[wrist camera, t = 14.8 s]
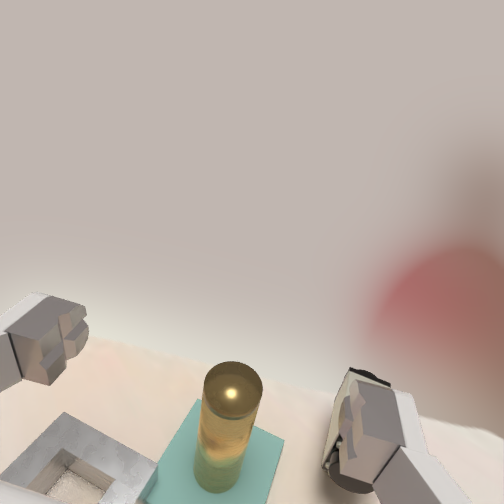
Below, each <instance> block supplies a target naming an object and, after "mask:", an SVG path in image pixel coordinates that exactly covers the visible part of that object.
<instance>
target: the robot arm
mask: <svg viewBox="0 0 504 504" xmlns="http://www.w3.org/2000/svg"><path fill="white" fill-rule="evenodd" d="M86 315H87V314H86V309H85V306H83V305H80V304H77V303H74V302H70V301H67V300H64V299H60V298H57V297H54V296H49V295H46V294H43V293H39V292H34V293H31V294H29V295H28V296H26V297H25V298H24V299H22V300H21V301H20V302H18V303H17V304H15V305H14V306H13V307H11V308H10V309H9V310H7V311H6V312H4V313H3V314H2V315H0V392H2V391H3V390H5V389H7V388H9V387H11V386H13V385H14V384H16V383H18V382H20V381H22V379H25V380H29V381H33V382H37V383H40V384H44V385H48V386H50V385H51V384H52V383H53V382H54V381H55V380H56V379H57V378H58V376H59V375H60V374H61V373H62V372H63V371H64V370H65V369H66V365H67V360H69V359H71V358H73V357H75V356H77V355H78V354H79V353H80V351H81V350H82V349H83V348H84V346H85V343H86V341H87V339H88V334H89V330H88V325H87V324H86V323H85V321H84V320H83V318H84V317H85V316H86ZM349 391H350V395H349V396H346V397H344V399H343V402H342V404H341V407H340V412H339V419H338V432H339V433H340V435H341V437H342V438H343V441H342V443H341V445H340V447H339V459H340V474H343V475H346V476H349V477H352V478H355V479H358V480H361V481H364V482H367V483H370V484H373V485H372V487H373V489H374V491H375V493H376V495H377V497H378V499H379V501H380V503H381V504H473V503H472V501H471V500H470V499H469V498H468V496H467V495H466V494H465V493H464V491H463V490H462V489H461V488H460V487H459V485H458V484H457V483H456V482H455V480H454V479H453V478H452V477H451V475H450V474H449V473H448V472H447V470H446V469H445V468H444V467H443V465H442V464H441V463H440V462H439V460H438V459H437V458H436V457H435V456H433V455H429V452H428V448H427V445H426V441H425V437H424V434H423V430H422V427H421V423H420V420H419V416H418V412H417V409H416V405H415V402H414V398H413V397H412V395H411V394H409V393H405V392H402V391H398V390H394V389H390V388H387V387H383V386H380V385H376V384H372V383H368V382H364V381H360V380H357V379H355V380H353V381H352V383H351V385H350V387H349ZM0 504H70V503H67V502H64V501H61V500H58V499H55V498H52V497H49V496H47V495H44V494H41V493H38V492H35V491H32V490H29V489H26V488H23V487H20V486H17V485H14V484H11V483H8V482H5V481H2V480H0Z"/></svg>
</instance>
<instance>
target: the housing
mask: <svg viewBox="0 0 504 504" xmlns="http://www.w3.org/2000/svg"><path fill="white" fill-rule="evenodd" d="M67 468H68V469H69V470H71V471H72V472H74V473H76V474H77V475H79V476H81V477H82V478H84V479H86V480H87V481H89V482H91V483H92V484H94V485H96V486H97V487H99V488H100V489H102V490H104V491H105V492H106V493H105V494H104V496H103V497H102V498H101V500H100V501H99V503H98V504H146V499H147V498H148V496H149V494H150V493H151V491H152V489H153V488H154V486H155V484H156V483H157V481H158V464H157V463H155V462H154V461H152V460H150V459H148V458H146V457H144V456H143V455H141V454H139V453H137V452H135V451H134V450H132V449H130V448H128V447H126V446H125V445H123V444H121V443H119V442H117V441H116V440H114V439H112V438H110V437H108V436H107V435H105V434H103V433H101V432H99V431H98V430H96V429H94V428H92V427H90V426H89V425H87V424H85V423H83V422H81V421H80V420H78V419H76V418H74V417H72V416H71V415H69V414H67V413H65V412H63V413H62V414H61V415H60V416H59V417H58V418H57V419H56V420H55V421H54V422H53V423H52V424H51V425H50V426H49V427H48V428H47V429H46V430H45V431H44V432H43V433H42V434H41V435H40V436H39V437H38V438H37V439H36V440H35V441H34V442H33V443H32V444H31V445H30V446H29V447H28V448H27V449H26V450H25V451H24V452H23V453H22V454H21V455H20V456H19V457H18V458H17V459H16V460H15V461H14V462H13V463H12V464H11V465H10V466H9V467H8V468H7V469H6V470H5V471H4V472H3V473H2V474H1V475H0V480H2V481H5V482H8V483H11V484H14V485H17V486H20V487H23V488H26V489H29V490H32V491H35V492H38V493H41V494H44V495H45V494H46V493H47V492H48V491H49V490H50V488H51V487H52V486H53V485H54V484H55V482H56V481H57V480H58V479H59V478H60V477H61V475H62V474H63V473H64V472H65V471H66V470H67Z"/></svg>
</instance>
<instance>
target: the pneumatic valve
mask: <svg viewBox="0 0 504 504" xmlns="http://www.w3.org/2000/svg"><path fill="white" fill-rule="evenodd" d="M355 379H357V380H360V381H364V382H368V383H372V384H376V385H380V386H383V387H387V388H390V389H391V387H390V386H391V384H390V383H388V382H386V381H383V380H381V379H378V378H377V377H376V376H375V375H373V374H372V373H370V372H368V371H365V370H356V369H353V368H351V367H350V368H349V370H348V372H347V374H346V375H345V377H344V381H343V383H342V385H341V387H340V389H339V391H338V393H337V396H336V398H335V401H334V406H333V411H332V417H331V422H330V427H329V432H328V438H327V440H326V444H325V450H324V455H323V460H322V465H321V466H322V469H323V470H324V471H328V474H329V476H330V477H331V478H332V480H333V481H334V482H335V483H336V484H338V485H339V486H340V487H342V488H344V489H346V490H348V491H351V492H354V493H359V494H367V493H371V492H373V491H374V489H373V487H372V485H373V484H370V483H367V482H364V481H361V480H358V479H355V478H352V477H349V476H346V475H343V474H340V459H339V447H340V445H341V443H342V441H343V438H342V437H341V435H340V433H339V432H338V419H339V412H340V407H341V404H342V402H343V399H344V397H346V396H349V395H350V391H349V387H350V385H351V383H352V381H353V380H355Z"/></svg>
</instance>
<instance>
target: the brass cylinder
mask: <svg viewBox="0 0 504 504" xmlns="http://www.w3.org/2000/svg"><path fill="white" fill-rule="evenodd" d="M262 391H263V387H262V382H261V379H260V377H259V376H258V374H257V373H256V372H255V371H254V370H253V369H252V368H250V367H249V366H248V365H246V364H243V363H240V362H234V361H232V362H231V361H230V362H223V363H220V364H218V365H216V366H214V367H213V368H212V369H211V370H210V371H209V372H208V373H207V375H206V377H205V381H204V388H203V395H202V403H201V411H200V419H199V426H198V434H197V442H196V450H195V457H194V466H193V471H194V476H195V479H196V481H197V483H198V484H199V485H200V487H201V488H203V489H204V490H205V491H207V492H210V493H215V494H219V493H223V492H226V491H228V490H229V489H231V488H232V487H233V486H234V485H235V483H236V482H237V480H238V478H239V475H240V472H241V468H242V464H243V461H244V457H245V454H246V450H247V446H248V443H249V439H250V436H251V432H252V428H253V425H254V421H255V418H256V414H257V410H258V407H259V403H260V400H261V396H262Z"/></svg>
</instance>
